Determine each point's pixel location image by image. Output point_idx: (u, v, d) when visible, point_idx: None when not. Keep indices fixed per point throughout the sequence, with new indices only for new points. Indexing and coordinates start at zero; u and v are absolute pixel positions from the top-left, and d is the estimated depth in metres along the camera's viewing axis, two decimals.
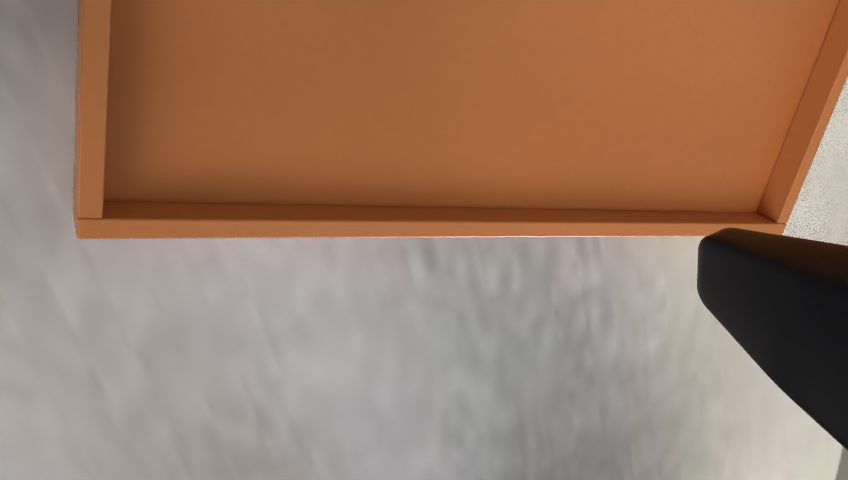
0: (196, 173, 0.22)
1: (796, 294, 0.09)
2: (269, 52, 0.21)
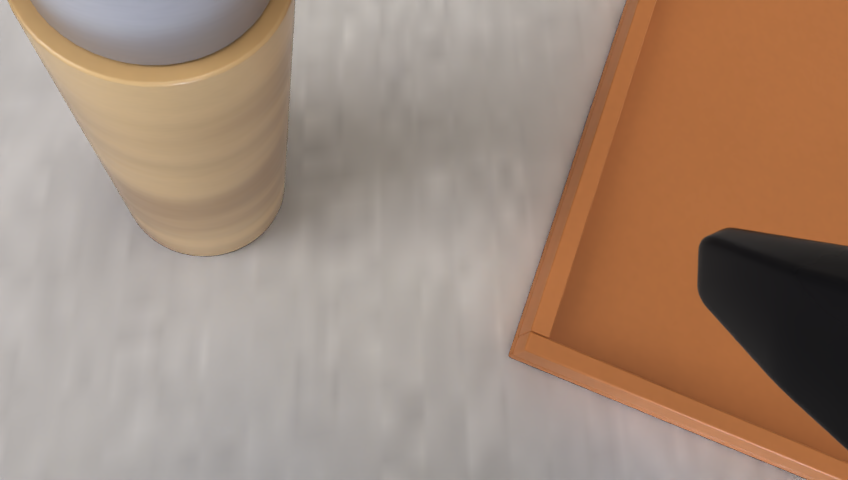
0: (618, 348, 0.23)
1: (796, 294, 0.09)
2: (694, 263, 0.25)
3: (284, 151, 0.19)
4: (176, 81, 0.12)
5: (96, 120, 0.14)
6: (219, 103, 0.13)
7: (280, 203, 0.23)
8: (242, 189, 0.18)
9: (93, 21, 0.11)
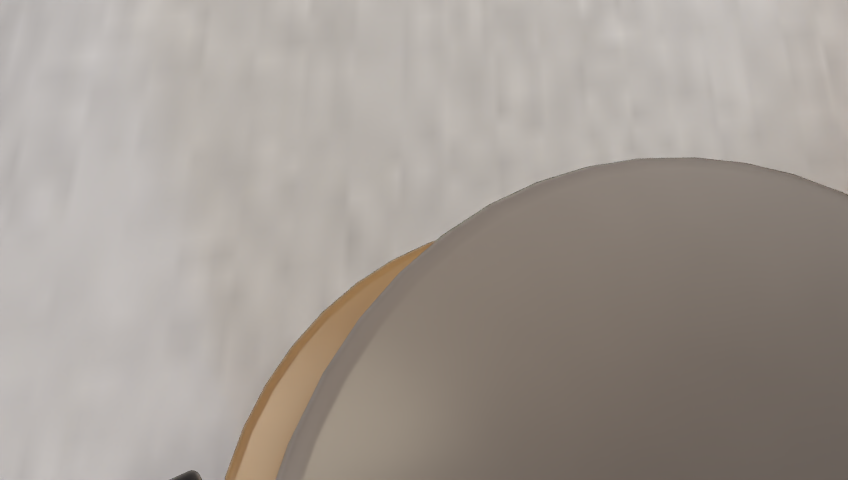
0: None
1: None
2: None
3: None
4: None
5: None
6: None
7: None
8: None
9: None
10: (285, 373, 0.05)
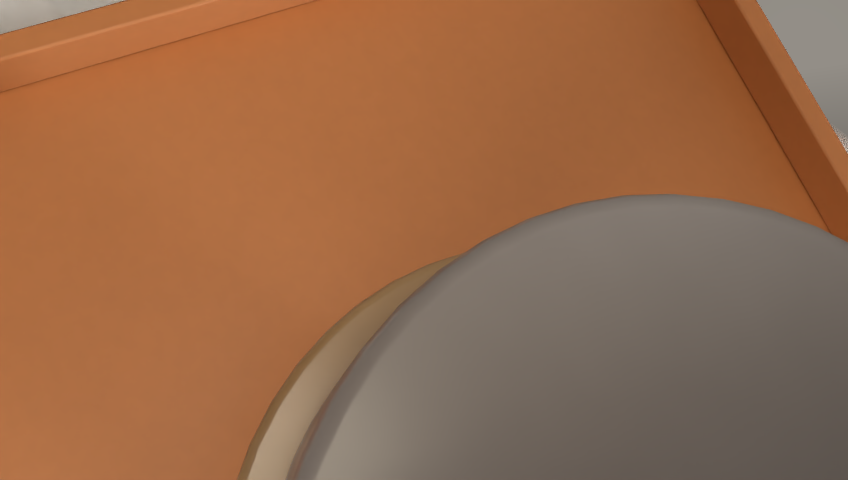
0: None
1: None
2: None
3: None
4: None
5: None
6: None
7: None
8: None
9: None
10: (290, 391, 0.05)
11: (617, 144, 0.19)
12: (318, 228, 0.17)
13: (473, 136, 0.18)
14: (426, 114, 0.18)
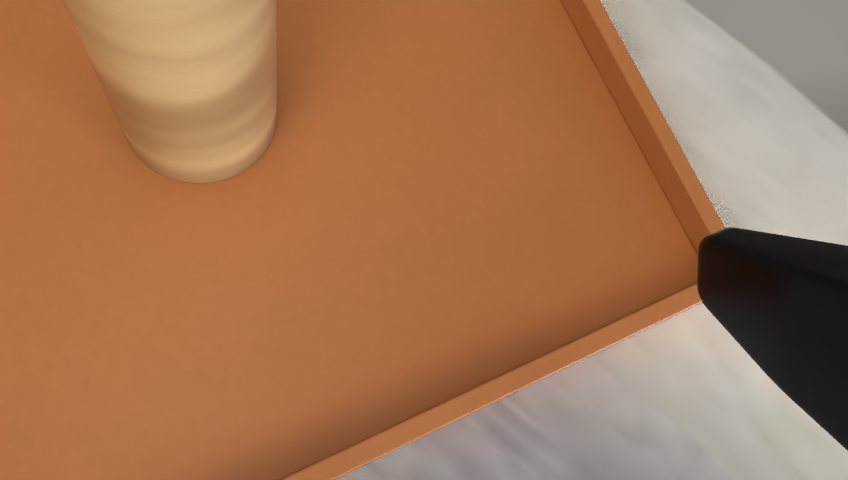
0: None
1: (796, 294, 0.09)
2: None
3: (273, 69, 0.20)
4: None
5: (86, 0, 0.14)
6: None
7: (271, 134, 0.23)
8: (230, 98, 0.18)
9: None
10: None
11: None
12: None
13: None
14: None
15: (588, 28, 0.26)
